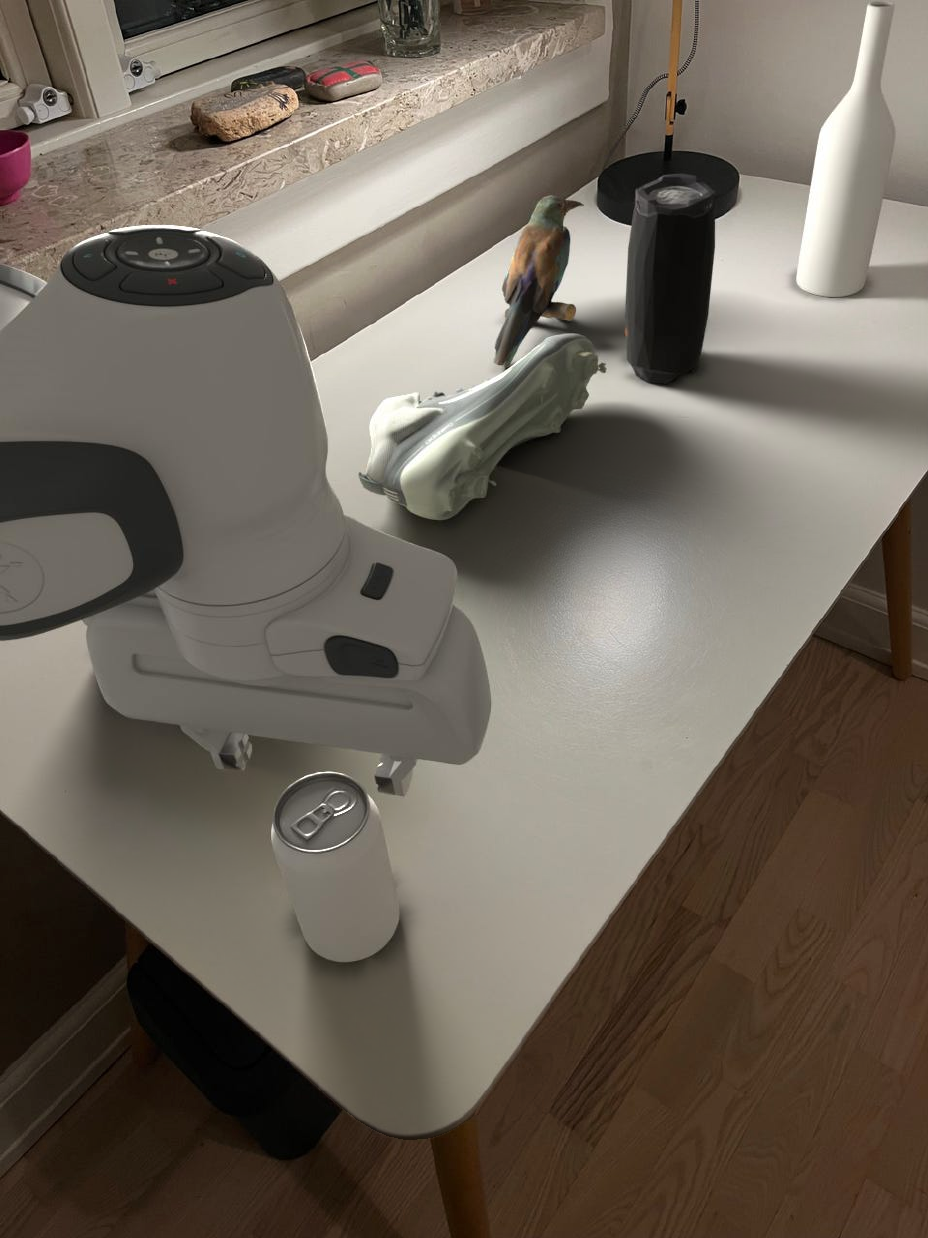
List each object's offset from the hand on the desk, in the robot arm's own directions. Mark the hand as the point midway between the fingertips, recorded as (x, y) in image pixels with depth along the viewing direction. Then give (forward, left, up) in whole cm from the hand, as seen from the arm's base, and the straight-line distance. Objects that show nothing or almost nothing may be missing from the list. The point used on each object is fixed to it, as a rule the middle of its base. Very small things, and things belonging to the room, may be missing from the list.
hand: (314, 772), depth 57 cm
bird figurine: (-2, +79, -16) cm, 80 cm away
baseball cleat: (-4, +54, -16) cm, 56 cm away
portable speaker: (+13, +72, -16) cm, 75 cm away
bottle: (+31, +94, -16) cm, 100 cm away
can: (0, 0, -16) cm, 16 cm away
